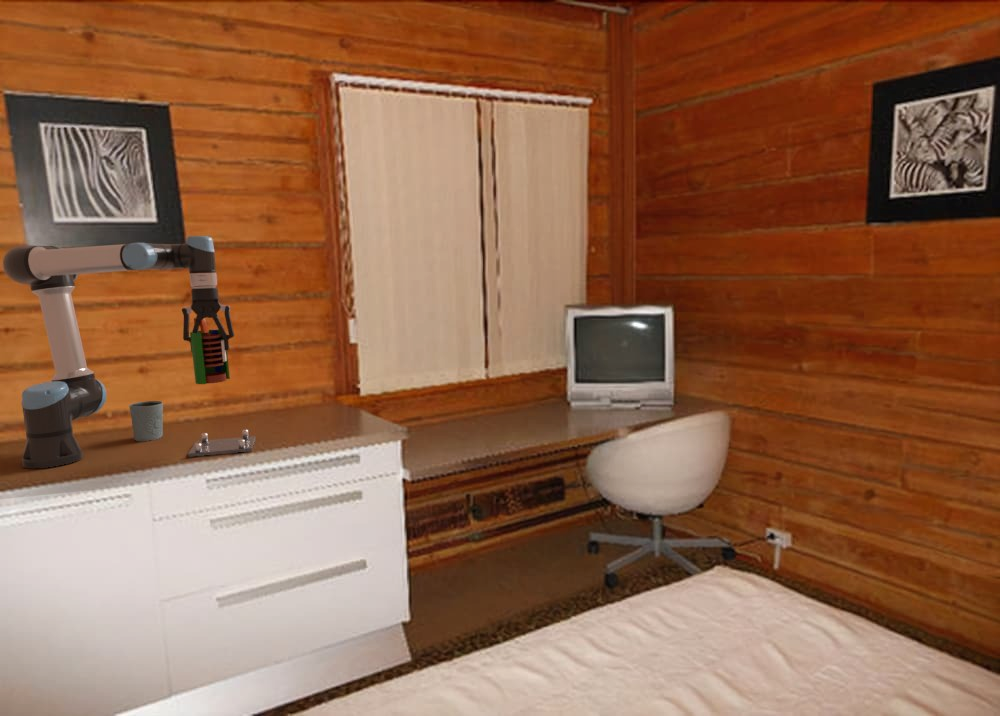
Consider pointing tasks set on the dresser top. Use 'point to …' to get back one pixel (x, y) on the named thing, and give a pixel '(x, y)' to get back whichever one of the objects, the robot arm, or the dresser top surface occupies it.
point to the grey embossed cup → (147, 420)
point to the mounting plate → (222, 445)
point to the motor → (208, 355)
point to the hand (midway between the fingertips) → (211, 361)
